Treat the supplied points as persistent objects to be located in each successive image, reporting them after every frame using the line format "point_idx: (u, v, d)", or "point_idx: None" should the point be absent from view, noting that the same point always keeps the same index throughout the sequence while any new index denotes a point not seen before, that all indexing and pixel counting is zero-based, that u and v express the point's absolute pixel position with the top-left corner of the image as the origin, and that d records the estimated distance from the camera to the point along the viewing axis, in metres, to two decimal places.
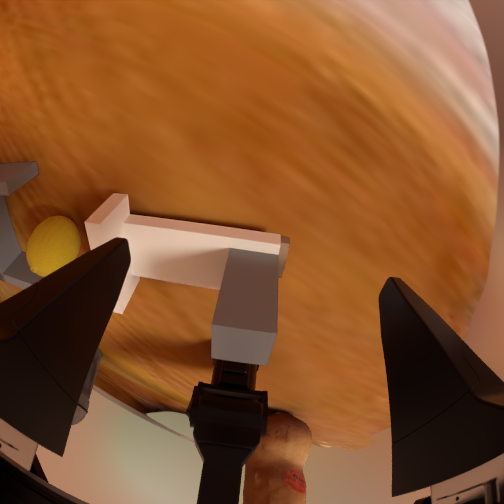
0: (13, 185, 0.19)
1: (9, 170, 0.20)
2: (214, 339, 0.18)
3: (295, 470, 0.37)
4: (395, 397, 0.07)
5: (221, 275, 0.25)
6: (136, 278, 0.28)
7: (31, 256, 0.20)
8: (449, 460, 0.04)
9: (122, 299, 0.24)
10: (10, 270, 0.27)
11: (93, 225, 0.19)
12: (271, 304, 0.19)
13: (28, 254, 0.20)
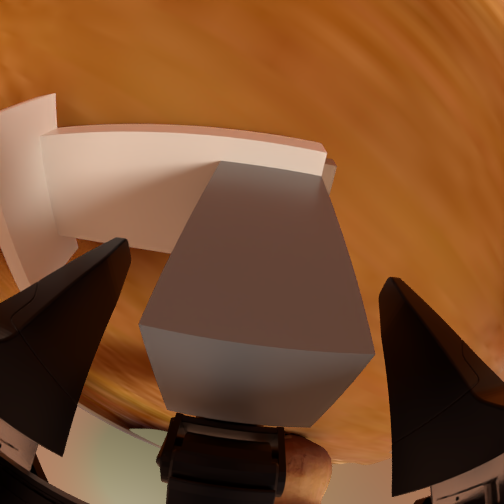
0: None
1: None
2: (162, 372, 0.05)
3: None
4: (395, 397, 0.07)
5: None
6: (71, 244, 0.15)
7: None
8: (449, 460, 0.04)
9: (37, 274, 0.12)
10: None
11: None
12: (335, 264, 0.06)
13: None
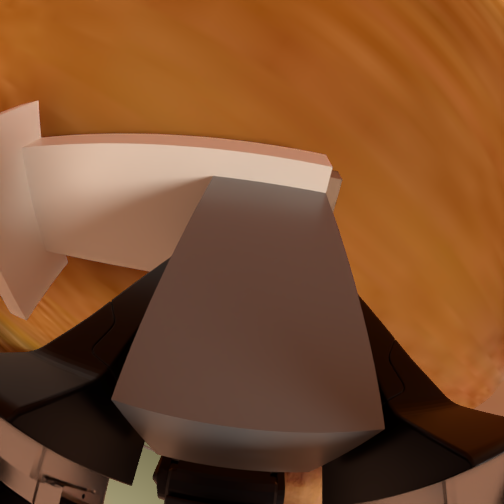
0: None
1: None
2: (146, 433, 0.04)
3: None
4: None
5: None
6: (59, 259, 0.14)
7: None
8: (366, 480, 0.04)
9: (24, 293, 0.11)
10: None
11: None
12: (343, 313, 0.05)
13: None
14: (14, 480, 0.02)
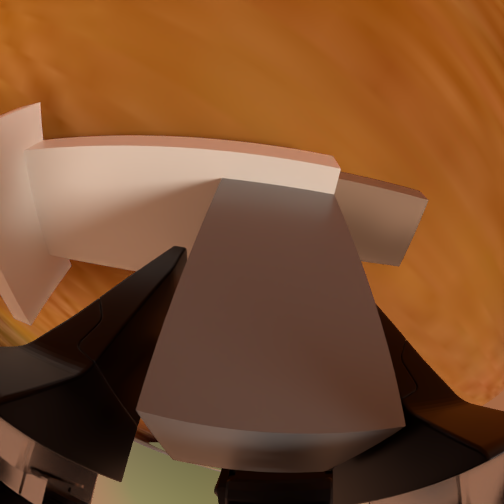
0: None
1: None
2: (166, 440, 0.04)
3: None
4: None
5: None
6: (63, 263, 0.14)
7: None
8: (380, 478, 0.04)
9: (28, 298, 0.11)
10: None
11: None
12: (360, 314, 0.05)
13: None
14: (2, 471, 0.02)
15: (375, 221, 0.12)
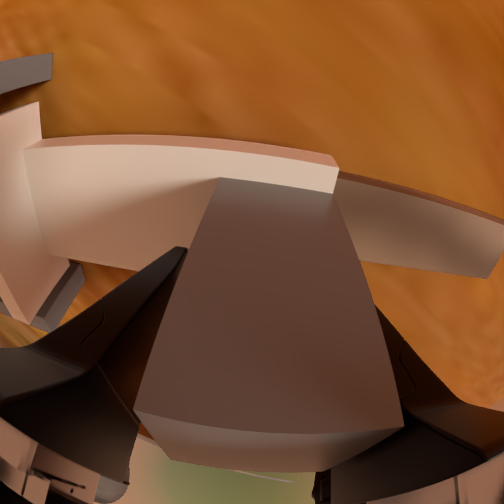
0: None
1: None
2: (164, 441, 0.04)
3: None
4: None
5: None
6: (61, 262, 0.14)
7: None
8: (378, 478, 0.04)
9: (27, 297, 0.11)
10: None
11: None
12: (359, 314, 0.05)
13: None
14: (4, 473, 0.02)
15: (483, 245, 0.12)
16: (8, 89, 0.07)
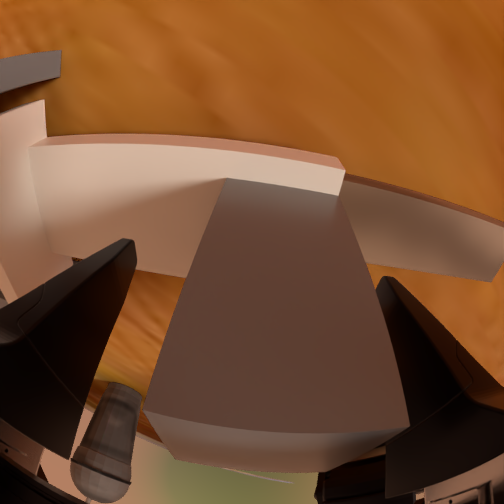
0: (2, 77, 0.06)
1: None
2: (171, 440, 0.04)
3: None
4: None
5: None
6: (65, 261, 0.14)
7: None
8: (442, 462, 0.04)
9: None
10: None
11: None
12: (365, 315, 0.05)
13: None
14: None
15: (488, 249, 0.12)
16: (16, 85, 0.07)
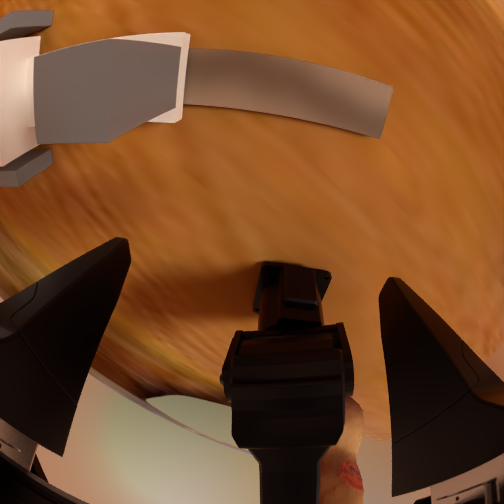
0: (19, 19, 0.09)
1: None
2: (36, 91, 0.07)
3: (351, 461, 0.27)
4: (395, 397, 0.07)
5: None
6: (36, 138, 0.17)
7: None
8: (449, 460, 0.04)
9: (7, 147, 0.14)
10: None
11: None
12: None
13: None
14: None
15: (356, 98, 0.15)
16: (26, 25, 0.10)
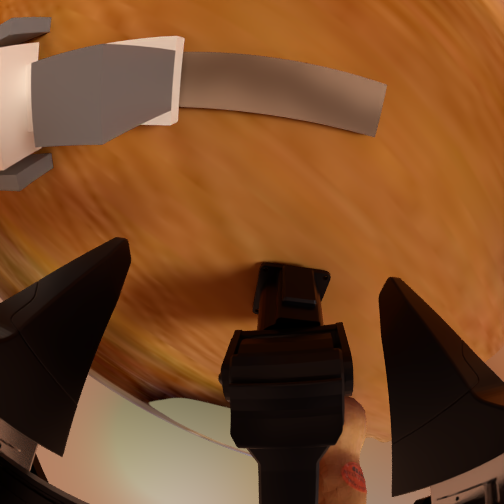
0: (18, 26, 0.09)
1: None
2: (34, 96, 0.08)
3: (354, 462, 0.27)
4: (395, 397, 0.07)
5: None
6: None
7: None
8: (449, 460, 0.04)
9: (7, 151, 0.14)
10: None
11: None
12: None
13: None
14: None
15: (349, 97, 0.16)
16: (25, 32, 0.10)
